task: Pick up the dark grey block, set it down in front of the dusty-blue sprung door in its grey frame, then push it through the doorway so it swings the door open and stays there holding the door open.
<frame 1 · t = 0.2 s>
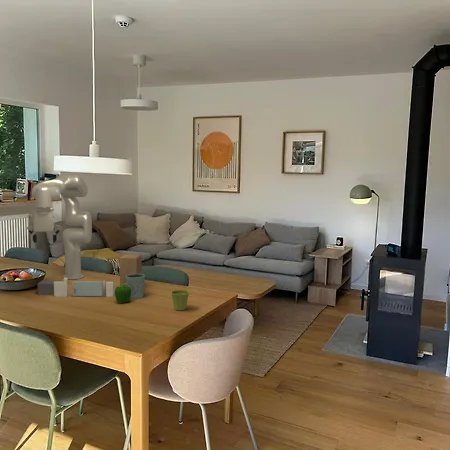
hand: (44, 242, 237), 30 cm above the table, fingers open, 9 cm apart
wooden block: (131, 290, 259), on the table
bell pepper: (122, 302, 235), on the table
grey blue cup: (135, 297, 245), on the table
plant pot: (180, 309, 225), on the table
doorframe: (80, 296, 244), on the table
dark grey block: (49, 293, 250), on the table
door: (87, 289, 243), point 4 cm above the table, hinge at 0.0°
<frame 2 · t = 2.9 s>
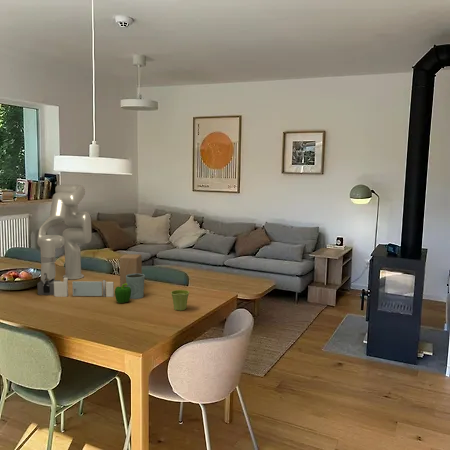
hand: (49, 290, 249), 1 cm above the table, fingers closed on dark grey block, 7 cm apart
dark grey block: (49, 293, 249), on the table, touching gripper
everything else where it was.
when the fingers open (2 cm above the table, at t = 8.5 s): dark grey block drops 1 cm, on the table.
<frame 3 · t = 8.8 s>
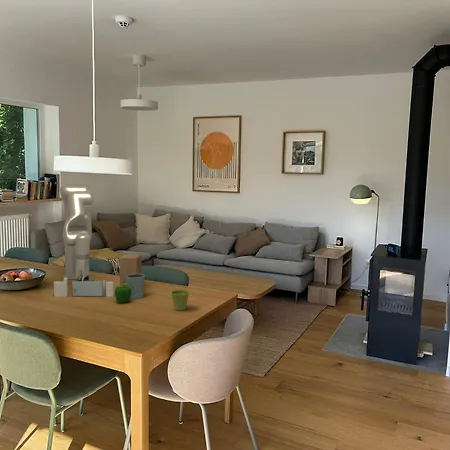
hand: (83, 286, 252), 3 cm above the table, fingers open, 9 cm apart
dark grey block: (83, 292, 252), on the table
everything else where it was.
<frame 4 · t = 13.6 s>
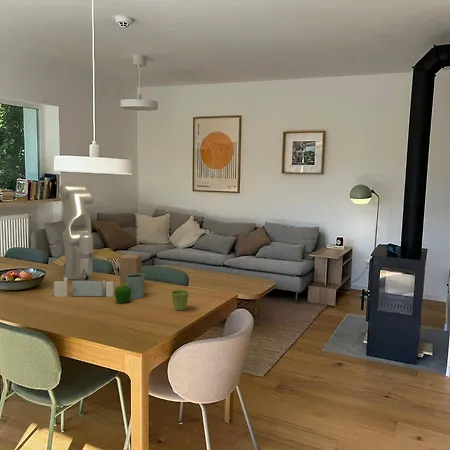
hand: (87, 286, 258), 1 cm above the table, fingers closed
dark grey block: (83, 292, 252), on the table, touching gripper
everything else where it was.
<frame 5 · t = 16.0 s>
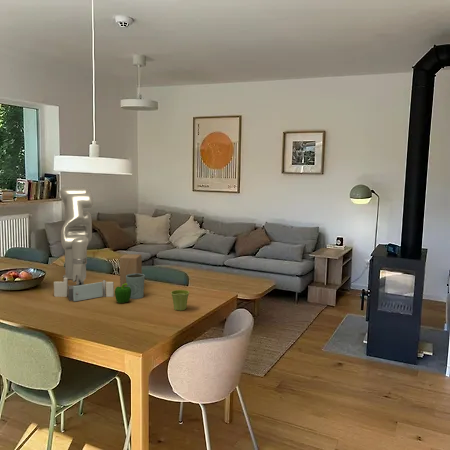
hand: (80, 293, 248), 1 cm above the table, fingers closed
dark grey block: (78, 298, 241), on the table, touching door, gripper
door: (88, 291, 238), point 4 cm above the table, hinge at 37.5°, touching dark grey block
everything else where it was.
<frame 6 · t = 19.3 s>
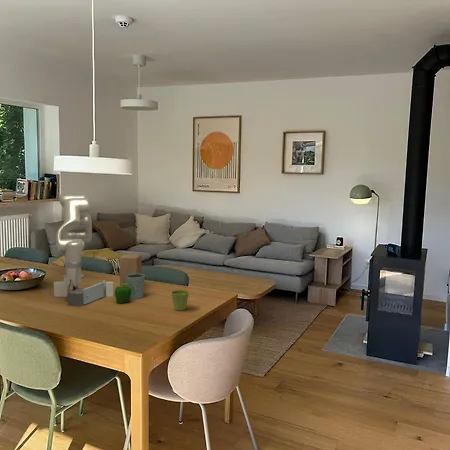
hand: (75, 298, 237), 1 cm above the table, fingers closed
dark grey block: (80, 302, 232), on the table, touching gripper
door: (94, 293, 235), point 4 cm above the table, hinge at 67.1°
everything else where it was.
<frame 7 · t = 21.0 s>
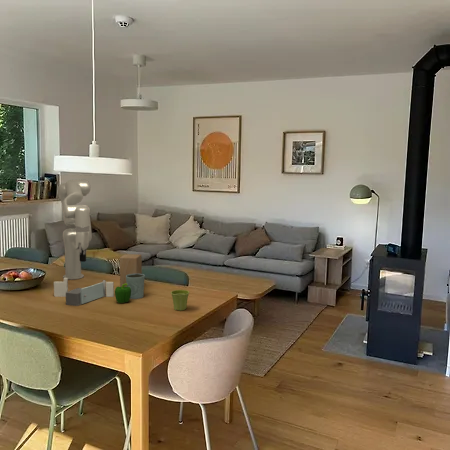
hand: (82, 261, 251), 18 cm above the table, fingers closed
dark grey block: (77, 302, 233), on the table, touching door
door: (93, 293, 235), point 4 cm above the table, hinge at 61.6°, touching dark grey block
everything else where it was.
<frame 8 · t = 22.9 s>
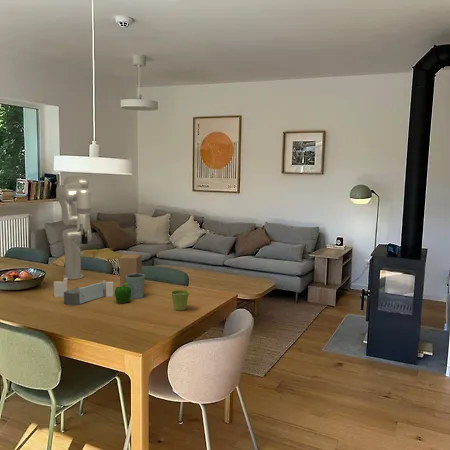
hand: (84, 243, 253), 27 cm above the table, fingers closed
dark grey block: (76, 302, 233), on the table
door: (92, 292, 236), point 4 cm above the table, hinge at 57.1°
everything else where it was.
at the end: door at +57° (first picture: +0°); dark grey block inside the target area (1.4 cm from its centre), on the table; dark grey block tilted 0° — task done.
